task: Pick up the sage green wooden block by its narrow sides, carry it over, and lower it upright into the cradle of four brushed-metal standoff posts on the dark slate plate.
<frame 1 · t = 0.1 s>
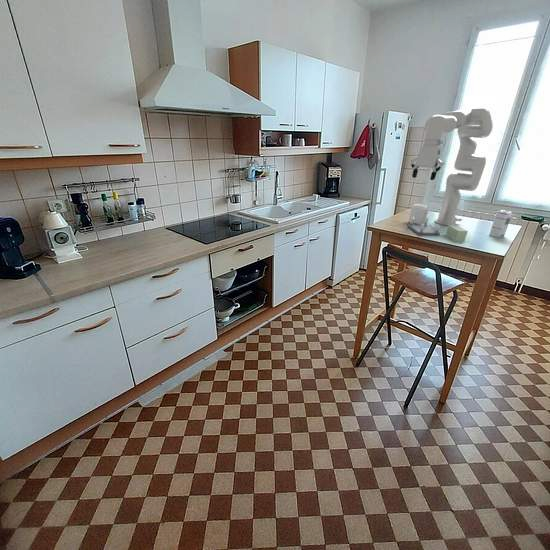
hand: (423, 178, 156), 31 cm above the table, tool pointing down, fingers open, 9 cm apart
standoff plate: (422, 230, 177), on the table
syrup box: (496, 236, 172), on the table
green block: (454, 238, 166), on the table
photo printer: (416, 223, 192), on the table
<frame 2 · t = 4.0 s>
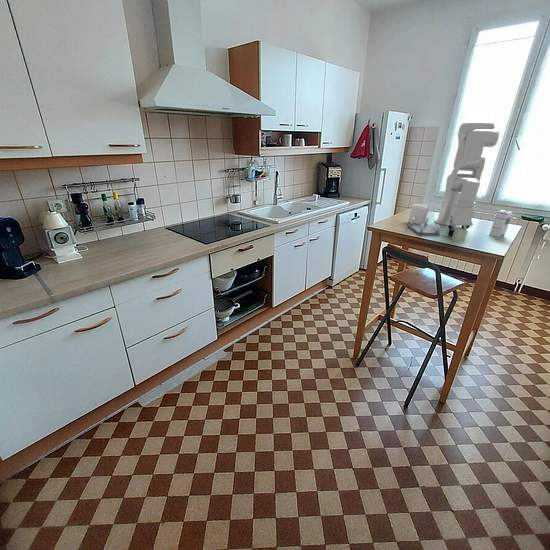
hand: (455, 236, 166), 1 cm above the table, tool pointing down, fingers closed on green block, 5 cm apart
green block: (454, 238, 166), on the table, touching gripper
everything else where it was.
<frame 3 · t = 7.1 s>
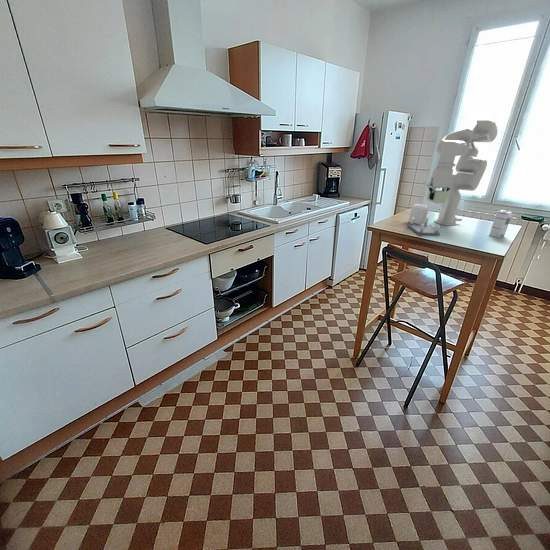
hand: (436, 199, 167), 19 cm above the table, tool pointing down, fingers closed on green block, 5 cm apart
green block: (435, 201, 167), point 18 cm above the table, touching gripper
everything else where it was.
when the fingers open (4 cm above the table, at t = 10.7 s): green block drops 1 cm, resting on standoff plate.
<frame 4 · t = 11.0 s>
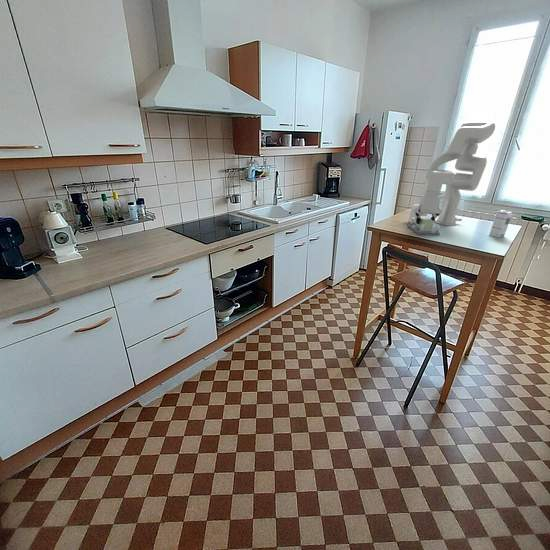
hand: (424, 223, 175), 4 cm above the table, tool pointing down, fingers open, 7 cm apart
green block: (423, 228, 176), point 1 cm above the table, touching standoff plate
everything else where it was.
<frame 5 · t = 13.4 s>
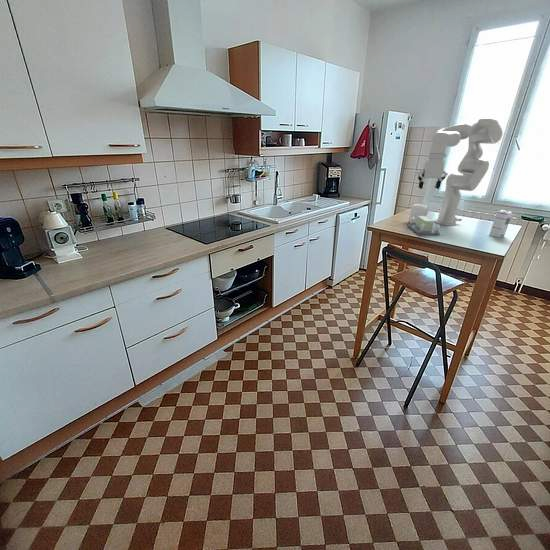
hand: (428, 188, 170), 24 cm above the table, tool pointing down, fingers open, 9 cm apart
nothing on the table moved.
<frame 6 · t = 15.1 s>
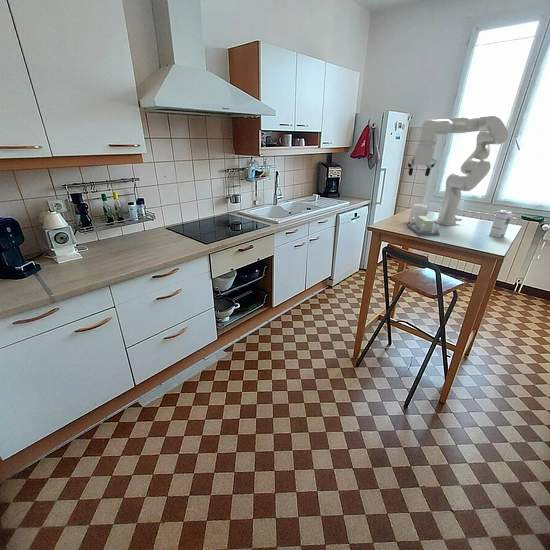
hand: (418, 175, 175), 30 cm above the table, tool pointing down, fingers open, 9 cm apart
nothing on the table moved.
at the end: green block 0.1 cm off-centre on the standoff plate, point 1.5 cm above the standoff plate's base; green block tilted 0°; the gripper is holding nothing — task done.
